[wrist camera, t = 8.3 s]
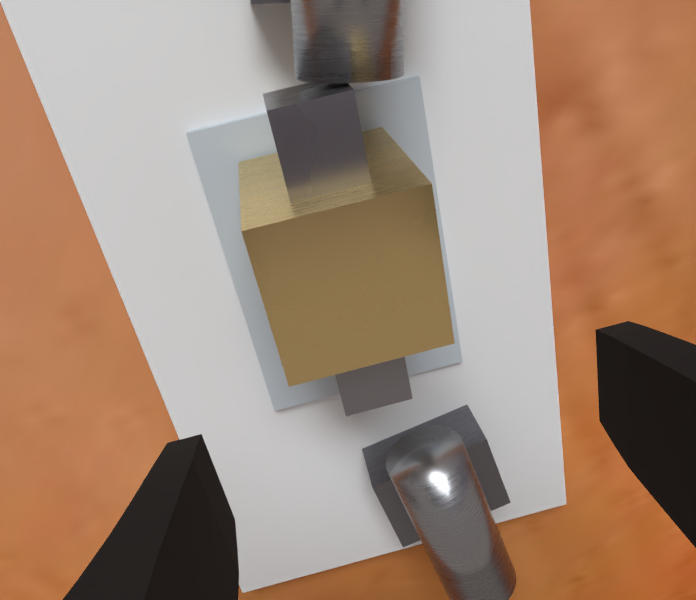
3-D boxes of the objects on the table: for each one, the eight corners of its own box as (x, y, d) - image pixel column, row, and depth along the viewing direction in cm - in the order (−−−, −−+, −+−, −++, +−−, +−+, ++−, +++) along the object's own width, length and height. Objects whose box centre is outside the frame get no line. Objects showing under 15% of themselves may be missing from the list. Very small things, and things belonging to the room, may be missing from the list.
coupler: (368, 50, 17) (418, 83, 12) (414, 312, 21) (464, 409, 16) (216, 87, 17) (211, 134, 12) (291, 344, 20) (308, 450, 16)
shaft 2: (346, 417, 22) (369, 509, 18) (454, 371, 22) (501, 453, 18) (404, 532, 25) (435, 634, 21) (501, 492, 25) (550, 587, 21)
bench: (489, -308, 15) (510, -334, 14) (555, 486, 26) (569, 509, 25) (-63, -190, 15) (-90, -205, 14) (242, 572, 26) (242, 599, 25)
